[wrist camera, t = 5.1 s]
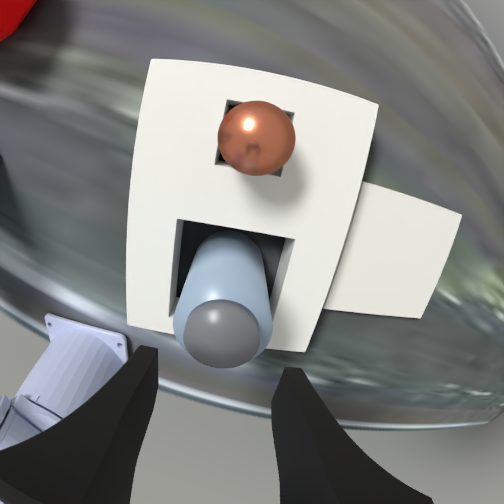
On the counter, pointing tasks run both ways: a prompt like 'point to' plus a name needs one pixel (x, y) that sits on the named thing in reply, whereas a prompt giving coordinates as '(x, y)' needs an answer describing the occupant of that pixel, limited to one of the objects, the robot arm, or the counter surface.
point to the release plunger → (256, 138)
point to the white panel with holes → (242, 187)
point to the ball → (13, 15)
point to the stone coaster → (391, 254)
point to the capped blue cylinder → (224, 302)
